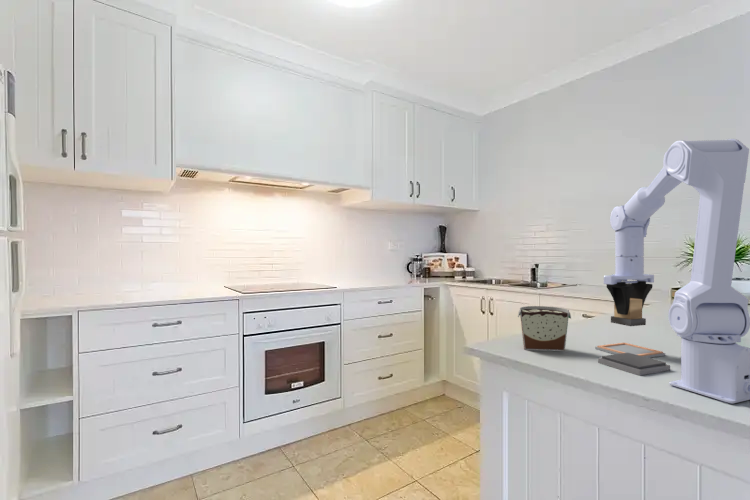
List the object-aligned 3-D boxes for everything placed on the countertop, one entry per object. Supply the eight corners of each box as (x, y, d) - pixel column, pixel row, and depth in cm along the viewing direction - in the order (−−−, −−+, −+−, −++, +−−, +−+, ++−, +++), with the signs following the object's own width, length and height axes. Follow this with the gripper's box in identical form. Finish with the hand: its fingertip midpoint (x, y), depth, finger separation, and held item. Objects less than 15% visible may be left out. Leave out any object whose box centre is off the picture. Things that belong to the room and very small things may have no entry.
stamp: (645, 324, 90) (645, 299, 90) (630, 326, 88) (630, 300, 88) (625, 321, 95) (625, 297, 95) (610, 322, 93) (610, 297, 93)
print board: (665, 355, 89) (665, 351, 89) (635, 359, 85) (635, 356, 85) (623, 345, 98) (623, 342, 98) (595, 348, 94) (595, 345, 94)
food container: (562, 344, 98) (562, 306, 98) (571, 351, 92) (571, 310, 92) (512, 343, 100) (512, 305, 100) (518, 349, 94) (518, 309, 94)
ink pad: (670, 370, 78) (670, 362, 78) (639, 375, 75) (639, 367, 75) (627, 358, 86) (627, 351, 86) (598, 362, 83) (598, 355, 83)
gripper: (633, 256, 98) (633, 309, 98) (592, 256, 93) (592, 312, 93) (663, 256, 91) (663, 313, 91) (619, 257, 86) (619, 317, 86)
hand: (629, 313), depth 91 cm, fingers closed on stamp, 4 cm apart
